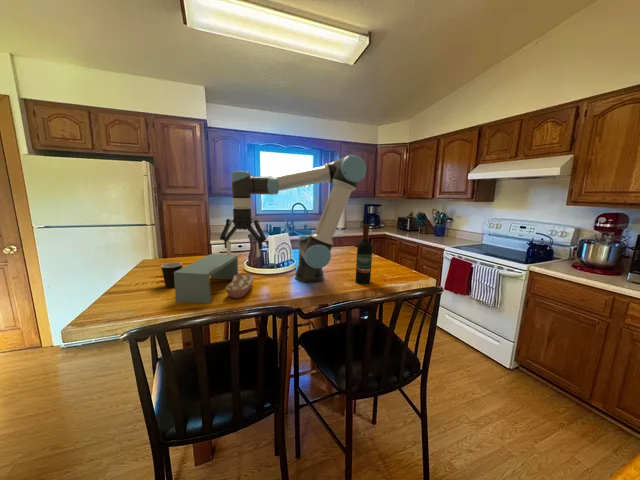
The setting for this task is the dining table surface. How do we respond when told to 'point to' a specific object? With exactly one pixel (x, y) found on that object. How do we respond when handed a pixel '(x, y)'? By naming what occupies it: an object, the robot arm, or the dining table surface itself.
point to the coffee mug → (170, 273)
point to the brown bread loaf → (240, 285)
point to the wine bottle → (364, 258)
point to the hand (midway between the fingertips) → (243, 255)
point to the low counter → (203, 277)
